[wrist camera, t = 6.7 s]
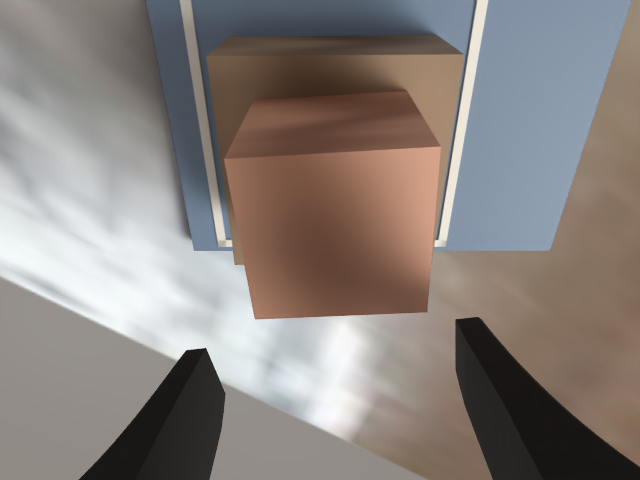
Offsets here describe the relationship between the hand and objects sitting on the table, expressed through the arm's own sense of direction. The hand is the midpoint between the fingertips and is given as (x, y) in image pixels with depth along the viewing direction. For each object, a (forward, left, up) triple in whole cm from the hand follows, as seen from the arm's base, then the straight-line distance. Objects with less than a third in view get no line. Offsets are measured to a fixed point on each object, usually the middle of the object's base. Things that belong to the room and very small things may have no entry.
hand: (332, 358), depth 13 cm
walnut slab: (0, -3, -10) cm, 10 cm away
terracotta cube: (0, -4, -6) cm, 7 cm away
